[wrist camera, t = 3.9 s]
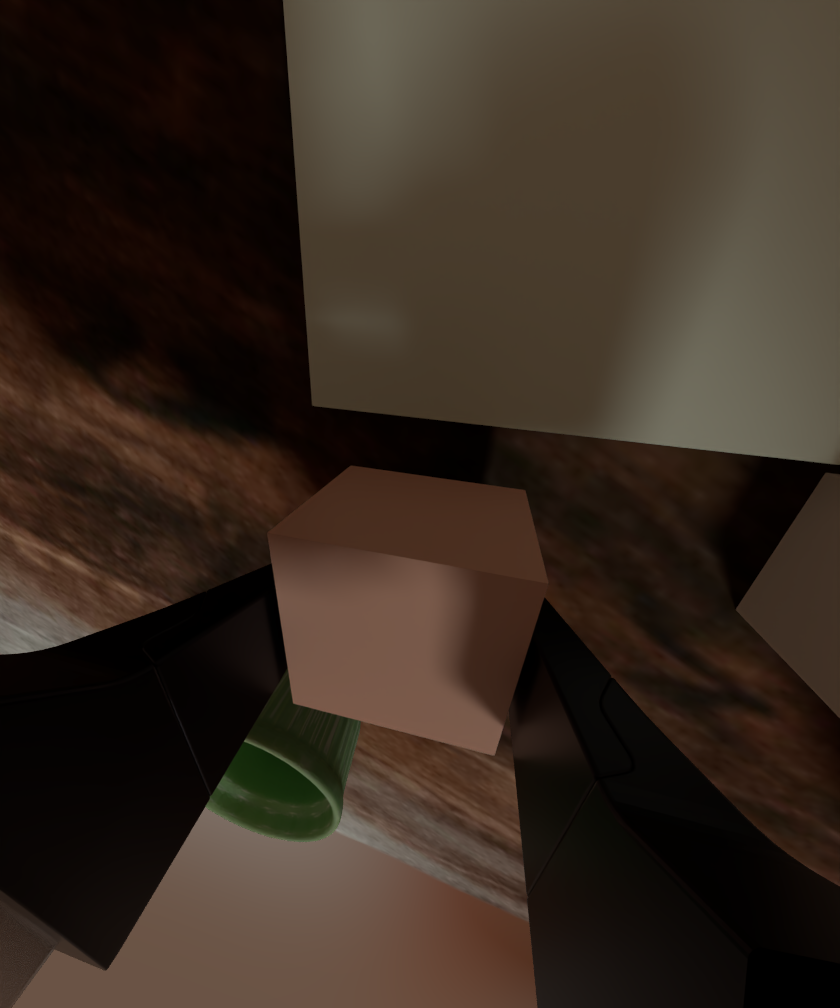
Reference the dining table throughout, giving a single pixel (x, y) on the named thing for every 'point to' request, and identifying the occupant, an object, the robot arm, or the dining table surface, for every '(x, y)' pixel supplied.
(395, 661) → the terracotta brick
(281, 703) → the ramekin
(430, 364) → the baseplate
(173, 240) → the dining table surface
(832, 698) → the cream brick
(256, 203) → the dining table surface
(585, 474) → the dining table surface
